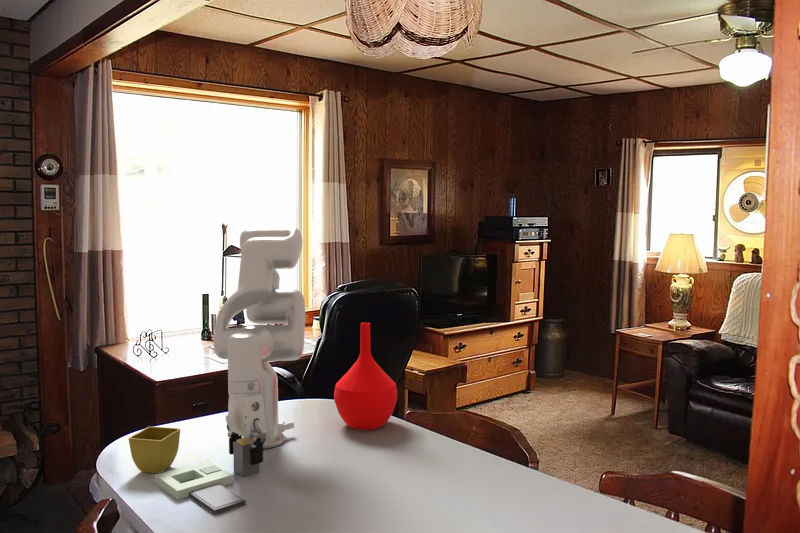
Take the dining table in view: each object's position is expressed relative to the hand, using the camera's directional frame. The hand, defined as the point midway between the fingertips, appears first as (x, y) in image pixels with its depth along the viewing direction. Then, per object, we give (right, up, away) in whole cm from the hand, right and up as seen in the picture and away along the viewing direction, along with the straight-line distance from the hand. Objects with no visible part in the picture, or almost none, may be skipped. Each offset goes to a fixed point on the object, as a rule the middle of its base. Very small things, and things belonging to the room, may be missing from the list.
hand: (245, 458), depth 156 cm
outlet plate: (-11, -4, -5) cm, 13 cm away
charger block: (0, -4, +1) cm, 4 cm away
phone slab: (-3, -5, -14) cm, 16 cm away
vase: (+26, -1, +37) cm, 45 cm away
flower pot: (-22, -4, +3) cm, 23 cm away
